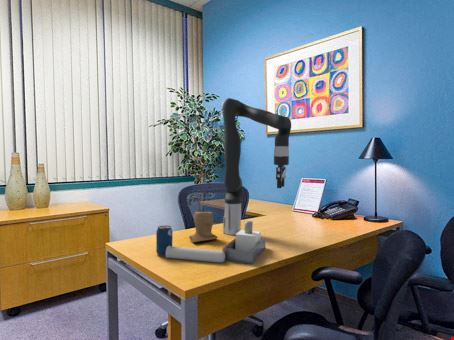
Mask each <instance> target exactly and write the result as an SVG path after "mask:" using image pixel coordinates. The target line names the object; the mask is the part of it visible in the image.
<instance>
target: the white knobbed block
mask: <svg viewBox="0 0 454 340" xmlns="http://www.w3.org/2000/svg"><path fill="white" fill-rule="evenodd" d="M253 224H254V223H253V221H252V220H245V221H244V229H241V230H240V231H239V232H238V233H236V235H235V238H234V239H235V249H239V250H247V251H251V250H252V249H253V248H254V247H255V246H256V245H257V244H258V243H259V242H260V241H261V240H262V238H261V237H262V236H261V235H262V231H256V230H253Z"/></svg>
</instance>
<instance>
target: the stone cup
mask: <svg viewBox="0 0 454 340" xmlns="http://www.w3.org/2000/svg"><path fill="white" fill-rule="evenodd" d="M193 222H194V225H195V233H194V234H191V235H189V237H188V239H189V240H190V241H191V243H200V242H206V241H212V240H216V239H218V238H219V237H218V236H217V235H215V234H213V232H212V230H213V225H214V213H213V212H212V211H195V212H194V215H193Z"/></svg>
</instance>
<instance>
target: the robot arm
mask: <svg viewBox="0 0 454 340" xmlns="http://www.w3.org/2000/svg"><path fill="white" fill-rule="evenodd" d="M221 107H222V108H221V111H222V118H223V133H224V134H223V136H224V138H223V139H224V140H223V144H224V145H223V146H224V147H223V148H224V161H225V163H224V164H225V172H224V173H225V174H224V187H225V195H224V196H225V198H224V216H223V222H222V224H223V225H222V227H223V228H222V234H225V235H230V236H236V233H238V232H239V231H240V230H242V228H241V227H242V225H241V224H242V198H243V197H242V196H243V195H242V193H243V180H242V178H241V176H240V167H239V166H240V161H241V160H240V159H241V154H242V152H241V149H242V147H241V146H242V144H241V143H242V141H241V136H240V132H239V130H238V128H237V125H236V117H243V118H246V119H250V120H252V121H253V122H255V123H259V124H261V125H265V126H269V127H271V128H273V129H275V130H278V131H277V134H276V135H275V137H274V149H273V165H274V166H277V167H275V168H276V169H275V170H276V171H275V180H276V188H277V189H282V188H284V187H285V179H286V169H287V167H286V166H289V164H290V144H289V143H290V139H289V138H290V135H291V129H292V121H291V119H290V118H289V117H287V116H285V115H281V114H277V113H273V112H271V111H267V110H264V109H261V108H256V107H252V106H249V105H247V104H245V103H243V102H241V101H240V100H238V99H234V98H230V97H229V98H228V97H227V98H225V100H224V101H223V103H222V106H221Z"/></svg>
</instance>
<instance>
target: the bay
mask: <svg viewBox="0 0 454 340" xmlns="http://www.w3.org/2000/svg"><path fill="white" fill-rule="evenodd" d="M265 249H266V237H263V238H261V241H260V242H259V243H258V244H257V245H256V246H255V247H254V248H253V249H252V250H251V251H247V250H239V249H235V238H233V240H231V241H230V242H228V243H227V244H226V245H225V246H223V247H222V250H221V251H223V252H224V253H225V260H224V262H234V263H242V264H249V265H253V264H254V263H255V262H256V261H257V259H258V258H259V257H260V255H261V254H262V253H263V252H264V251H265Z"/></svg>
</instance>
